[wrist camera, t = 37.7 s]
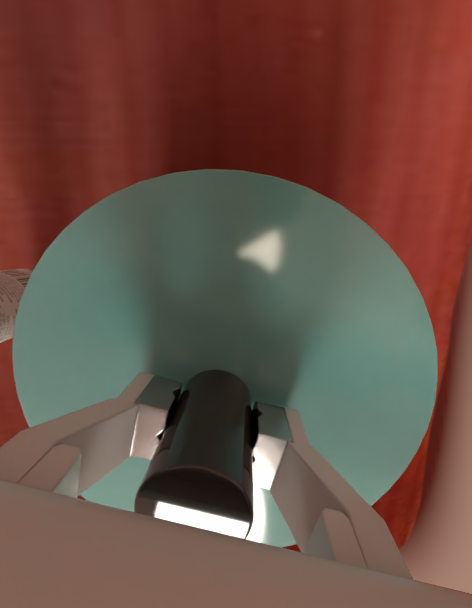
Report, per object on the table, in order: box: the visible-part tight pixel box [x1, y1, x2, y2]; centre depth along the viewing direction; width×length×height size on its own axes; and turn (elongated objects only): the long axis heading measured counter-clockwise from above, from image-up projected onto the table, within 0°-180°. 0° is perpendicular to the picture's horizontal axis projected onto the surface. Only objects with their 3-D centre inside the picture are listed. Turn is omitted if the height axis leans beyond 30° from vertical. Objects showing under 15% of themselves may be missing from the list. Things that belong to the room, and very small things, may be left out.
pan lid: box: [12, 169, 438, 547], centre depth 8 cm, size 16×16×5 cm
